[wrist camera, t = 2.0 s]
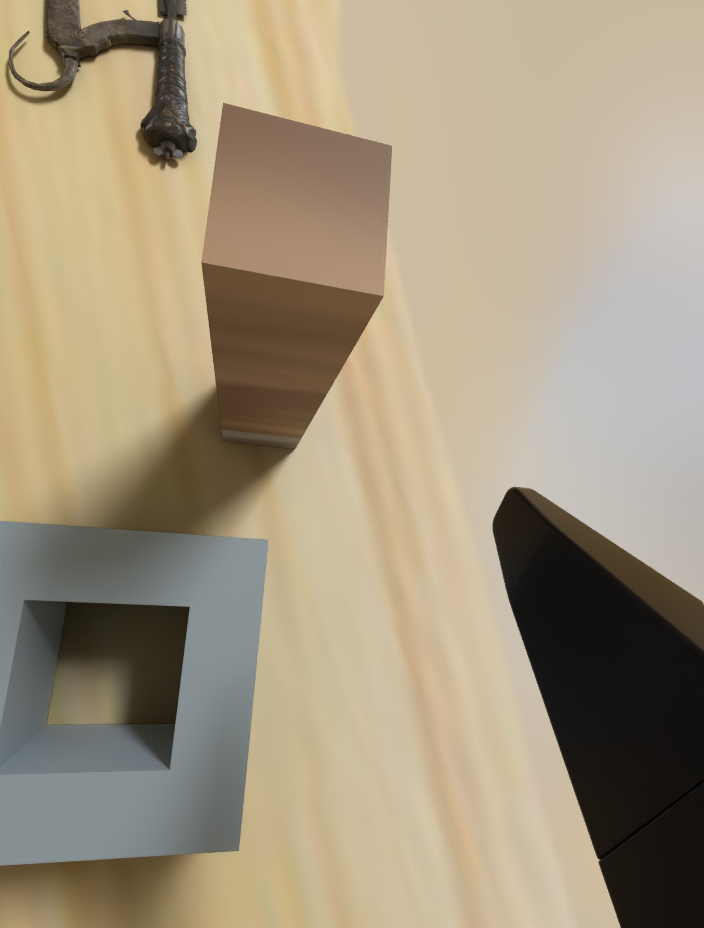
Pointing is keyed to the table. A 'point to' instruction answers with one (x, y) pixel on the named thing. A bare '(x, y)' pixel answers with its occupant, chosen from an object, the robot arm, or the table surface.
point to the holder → (126, 745)
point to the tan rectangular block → (289, 267)
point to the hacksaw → (170, 112)
